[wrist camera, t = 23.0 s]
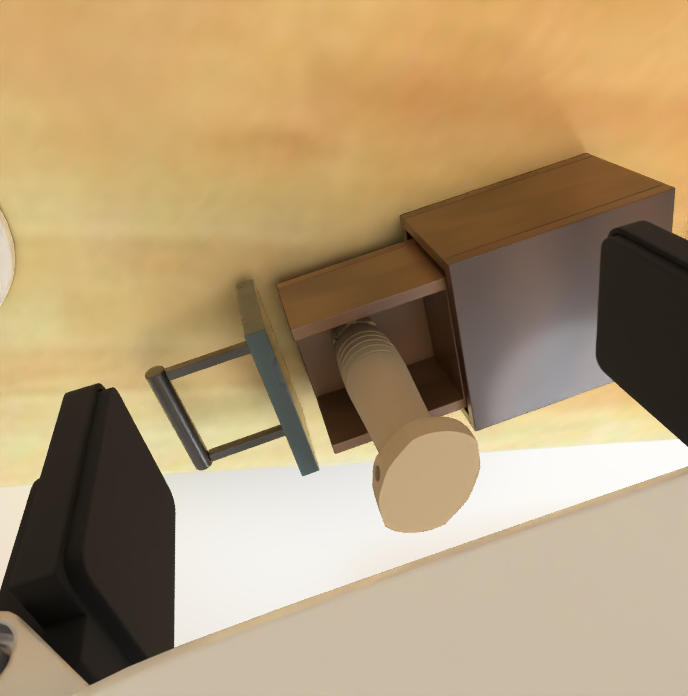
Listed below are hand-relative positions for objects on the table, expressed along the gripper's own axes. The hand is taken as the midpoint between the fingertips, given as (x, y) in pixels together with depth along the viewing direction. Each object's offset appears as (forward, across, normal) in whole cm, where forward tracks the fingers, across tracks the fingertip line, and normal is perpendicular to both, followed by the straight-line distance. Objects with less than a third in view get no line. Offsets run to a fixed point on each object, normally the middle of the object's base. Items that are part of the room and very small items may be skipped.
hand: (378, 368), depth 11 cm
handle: (+25, -3, +15) cm, 29 cm away
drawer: (+26, 0, +15) cm, 30 cm away
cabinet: (+27, -15, +14) cm, 34 cm away
